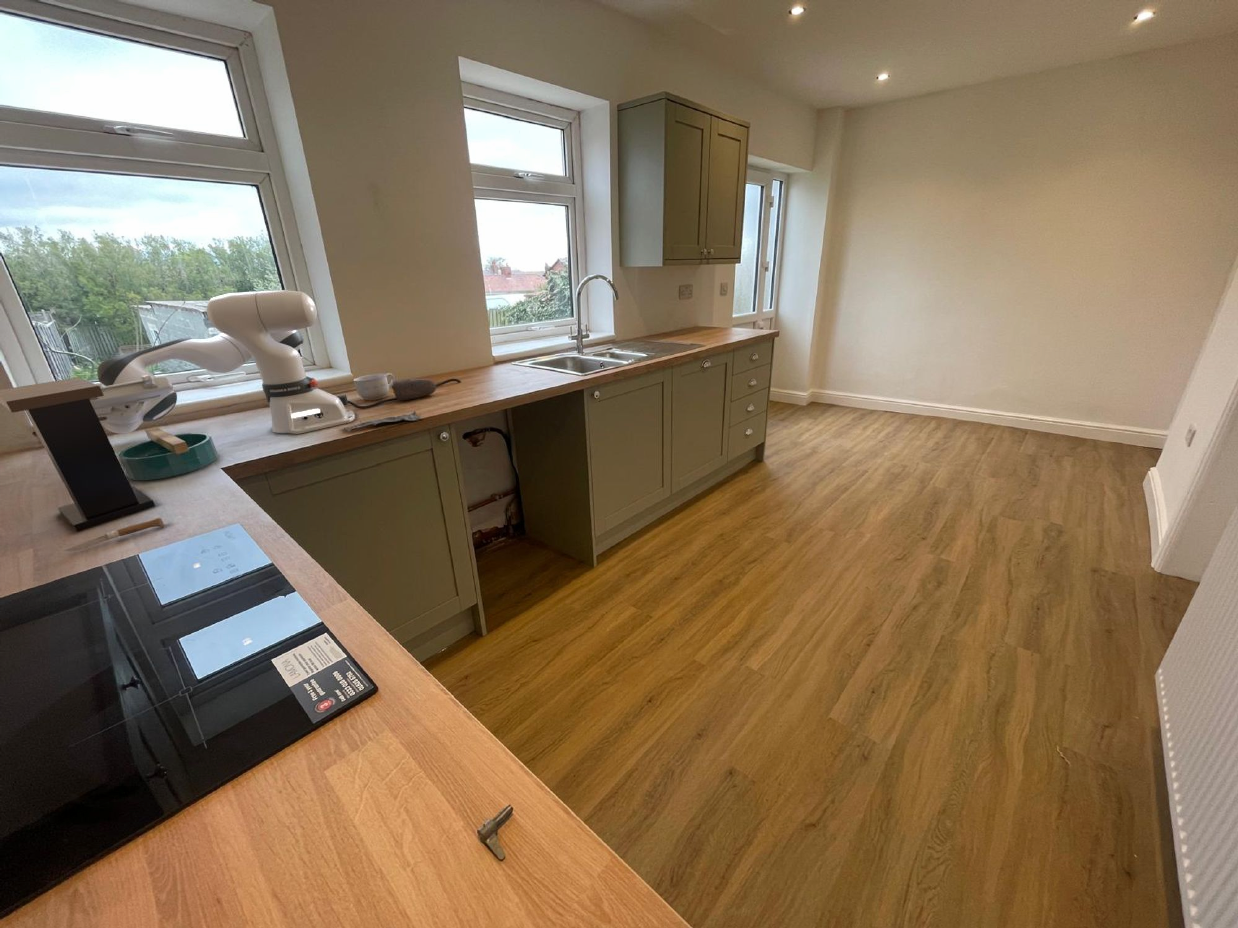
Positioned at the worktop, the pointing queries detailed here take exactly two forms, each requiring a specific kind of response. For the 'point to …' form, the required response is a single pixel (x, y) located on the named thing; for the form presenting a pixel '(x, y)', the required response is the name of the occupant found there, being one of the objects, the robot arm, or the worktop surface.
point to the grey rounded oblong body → (413, 388)
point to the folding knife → (118, 534)
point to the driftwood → (386, 420)
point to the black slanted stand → (78, 450)
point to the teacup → (373, 386)
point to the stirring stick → (167, 440)
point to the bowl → (167, 457)
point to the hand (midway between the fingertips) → (123, 382)
